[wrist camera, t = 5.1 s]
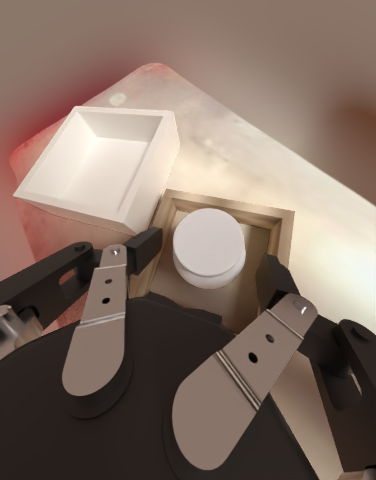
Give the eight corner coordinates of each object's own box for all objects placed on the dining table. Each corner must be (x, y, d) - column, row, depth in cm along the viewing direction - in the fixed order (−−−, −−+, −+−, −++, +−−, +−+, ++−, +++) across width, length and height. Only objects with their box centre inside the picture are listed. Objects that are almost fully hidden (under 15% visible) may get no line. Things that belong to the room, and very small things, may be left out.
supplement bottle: (238, 250, 17) (270, 210, 8) (224, 296, 16) (243, 308, 7) (195, 236, 19) (181, 187, 9) (179, 277, 17) (144, 267, 8)
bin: (180, 146, 24) (173, 111, 19) (143, 238, 19) (122, 223, 15) (98, 137, 27) (74, 106, 22) (53, 214, 23) (12, 195, 18)
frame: (280, 223, 18) (294, 211, 15) (262, 355, 14) (275, 373, 11) (172, 202, 21) (166, 188, 18) (134, 306, 17) (118, 310, 14)
